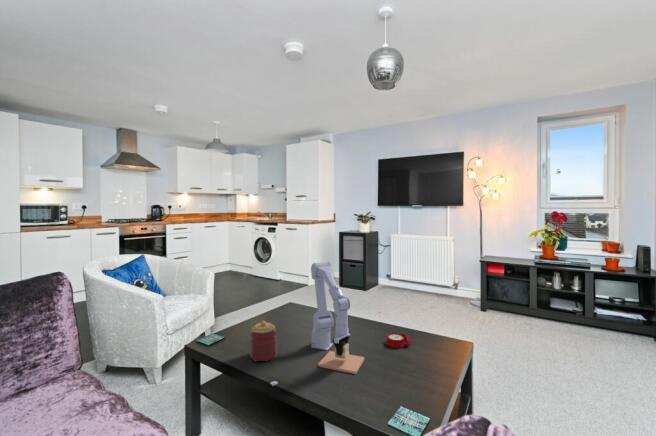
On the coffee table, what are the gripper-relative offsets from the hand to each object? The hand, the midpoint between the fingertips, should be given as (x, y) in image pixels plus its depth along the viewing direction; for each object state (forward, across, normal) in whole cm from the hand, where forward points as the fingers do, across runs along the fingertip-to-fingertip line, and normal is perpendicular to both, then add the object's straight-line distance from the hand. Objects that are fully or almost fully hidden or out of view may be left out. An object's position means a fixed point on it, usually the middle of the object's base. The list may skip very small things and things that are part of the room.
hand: (341, 352), depth 146 cm
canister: (+5, -8, +38) cm, 39 cm away
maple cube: (+2, 0, 0) cm, 2 cm away
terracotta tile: (+5, 0, 0) cm, 5 cm away
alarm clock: (+6, +31, -21) cm, 38 cm away
